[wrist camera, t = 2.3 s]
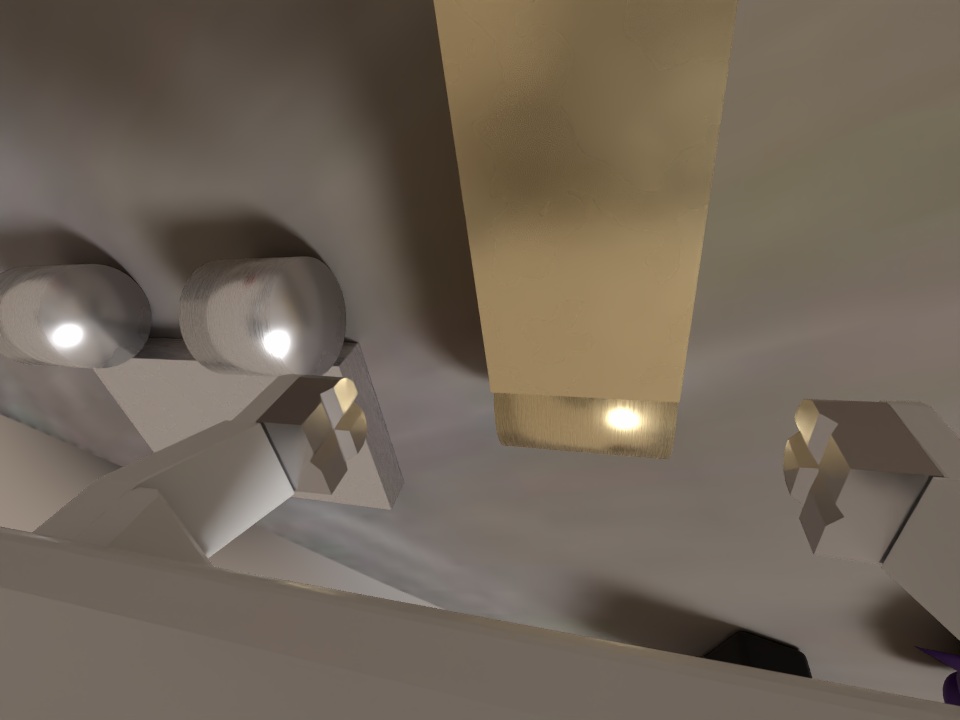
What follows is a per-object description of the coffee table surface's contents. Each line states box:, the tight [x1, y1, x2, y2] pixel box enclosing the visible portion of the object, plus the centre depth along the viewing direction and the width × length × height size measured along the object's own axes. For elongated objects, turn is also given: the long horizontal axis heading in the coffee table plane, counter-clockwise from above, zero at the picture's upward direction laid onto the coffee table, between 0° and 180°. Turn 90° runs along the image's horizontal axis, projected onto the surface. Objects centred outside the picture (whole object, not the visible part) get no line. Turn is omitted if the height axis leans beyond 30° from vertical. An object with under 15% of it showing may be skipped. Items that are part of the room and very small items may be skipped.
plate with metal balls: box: [0, 257, 404, 510], centre depth 24 cm, size 16×16×5 cm
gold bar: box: [434, 0, 738, 459], centre depth 15 cm, size 6×15×5 cm, turn 7°
